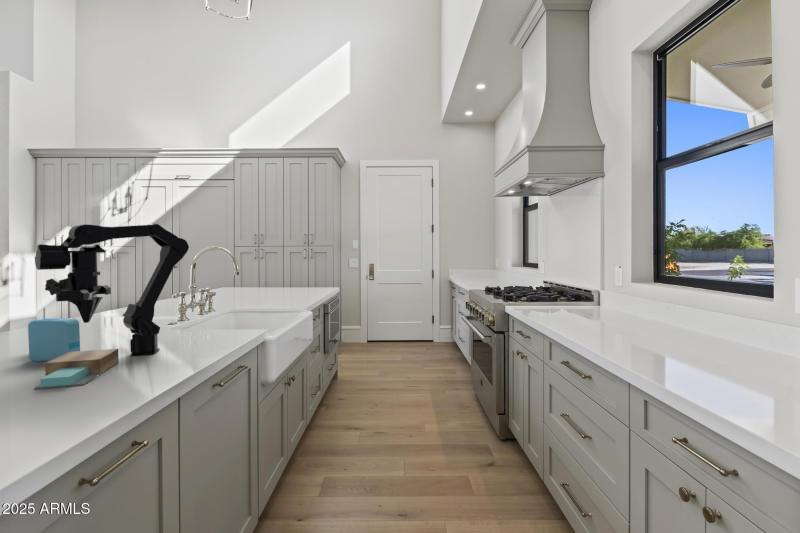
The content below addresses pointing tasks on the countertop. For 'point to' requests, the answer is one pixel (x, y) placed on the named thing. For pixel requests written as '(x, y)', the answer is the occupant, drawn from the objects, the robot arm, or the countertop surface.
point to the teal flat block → (64, 376)
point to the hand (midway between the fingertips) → (86, 322)
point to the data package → (52, 338)
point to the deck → (84, 360)
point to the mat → (79, 382)
